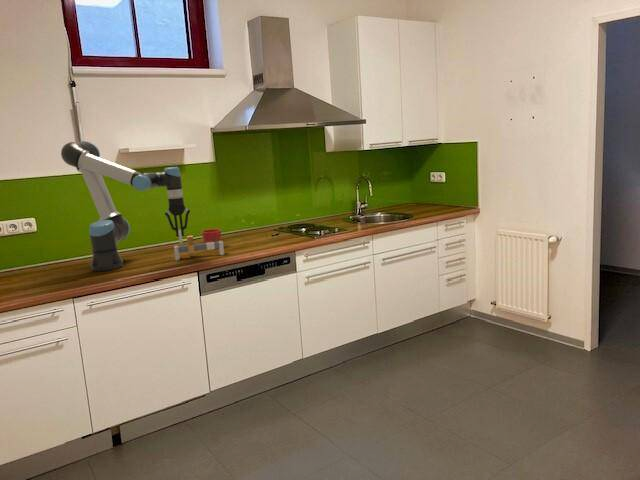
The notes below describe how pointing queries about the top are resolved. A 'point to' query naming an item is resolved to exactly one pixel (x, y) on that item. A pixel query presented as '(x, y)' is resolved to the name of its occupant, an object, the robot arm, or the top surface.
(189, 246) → the collar
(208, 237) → the flower pot
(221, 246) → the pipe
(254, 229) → the top surface
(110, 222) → the robot arm
